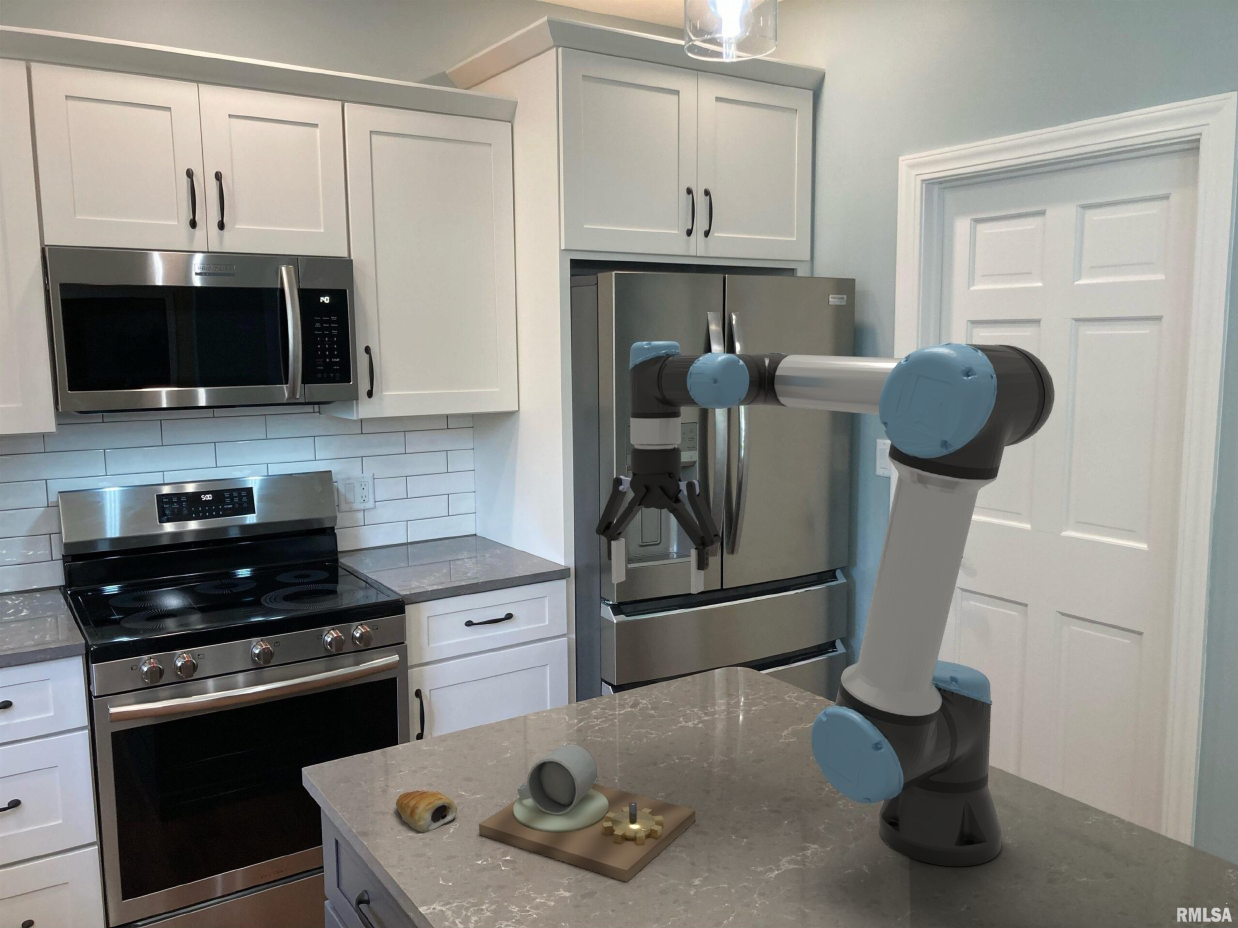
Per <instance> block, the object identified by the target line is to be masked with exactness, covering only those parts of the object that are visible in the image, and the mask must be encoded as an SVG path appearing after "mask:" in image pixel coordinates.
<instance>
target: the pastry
mask: <svg viewBox="0 0 1238 928" xmlns="http://www.w3.org/2000/svg"><path fill="white" fill-rule="evenodd" d="M395 806H396V808H397V810H398V812H399V814H400V816H401V820H402V821H403V822H405V823H407V824H408V825H409V826H410V827H411V828H413V829H414V830H416V831H418V832H421V833H425V832H426V833H427V832H431V831H434V830H436V829H438V828H439V827H441V826H443V825H445V824H447V823H450V822H451V821H452V820H454V819H455V818H456V816H457V814H458V807H457V805H456V803H455V801H454V800H451V798H449V797H448V796H447V795H445V794H442V792H440V791H437V790H436V791H435V790H433V791H429V790H424V789H422V790H415V791H414V790H413V791H406V792H404V793H402V794H400V795H399V796H398V798H397V799H396V801H395Z"/></svg>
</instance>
